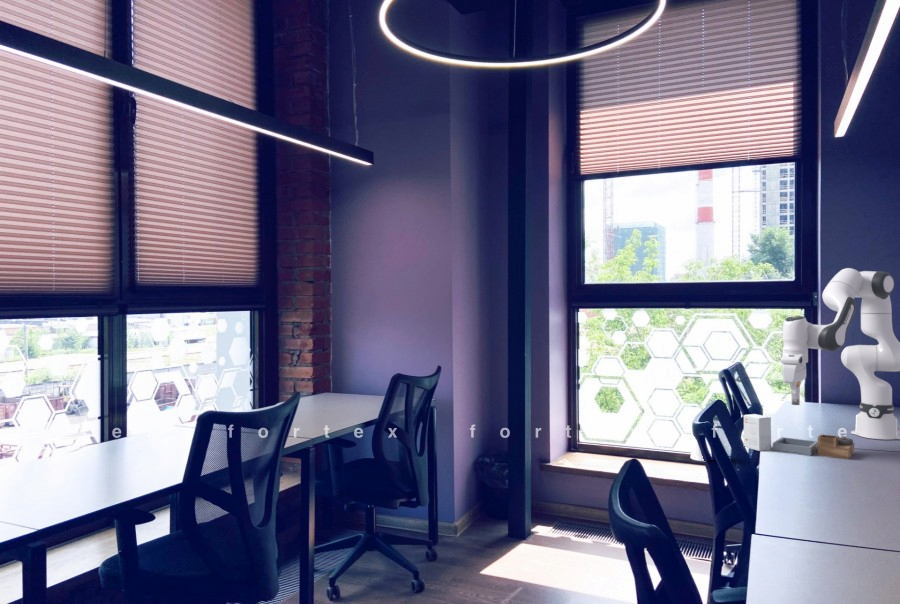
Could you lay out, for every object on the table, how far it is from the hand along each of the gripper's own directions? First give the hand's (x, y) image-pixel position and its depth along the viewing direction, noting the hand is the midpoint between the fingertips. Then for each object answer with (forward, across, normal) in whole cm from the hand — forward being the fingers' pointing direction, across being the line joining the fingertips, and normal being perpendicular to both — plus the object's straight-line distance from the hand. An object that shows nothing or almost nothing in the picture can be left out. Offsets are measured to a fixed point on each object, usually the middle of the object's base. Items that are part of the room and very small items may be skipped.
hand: (795, 392), depth 255 cm
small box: (+23, +6, -13) cm, 27 cm away
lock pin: (+5, 0, 0) cm, 5 cm away
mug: (+23, +37, -24) cm, 49 cm away
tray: (+23, 0, 0) cm, 23 cm away
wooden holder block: (+23, -2, +14) cm, 26 cm away
